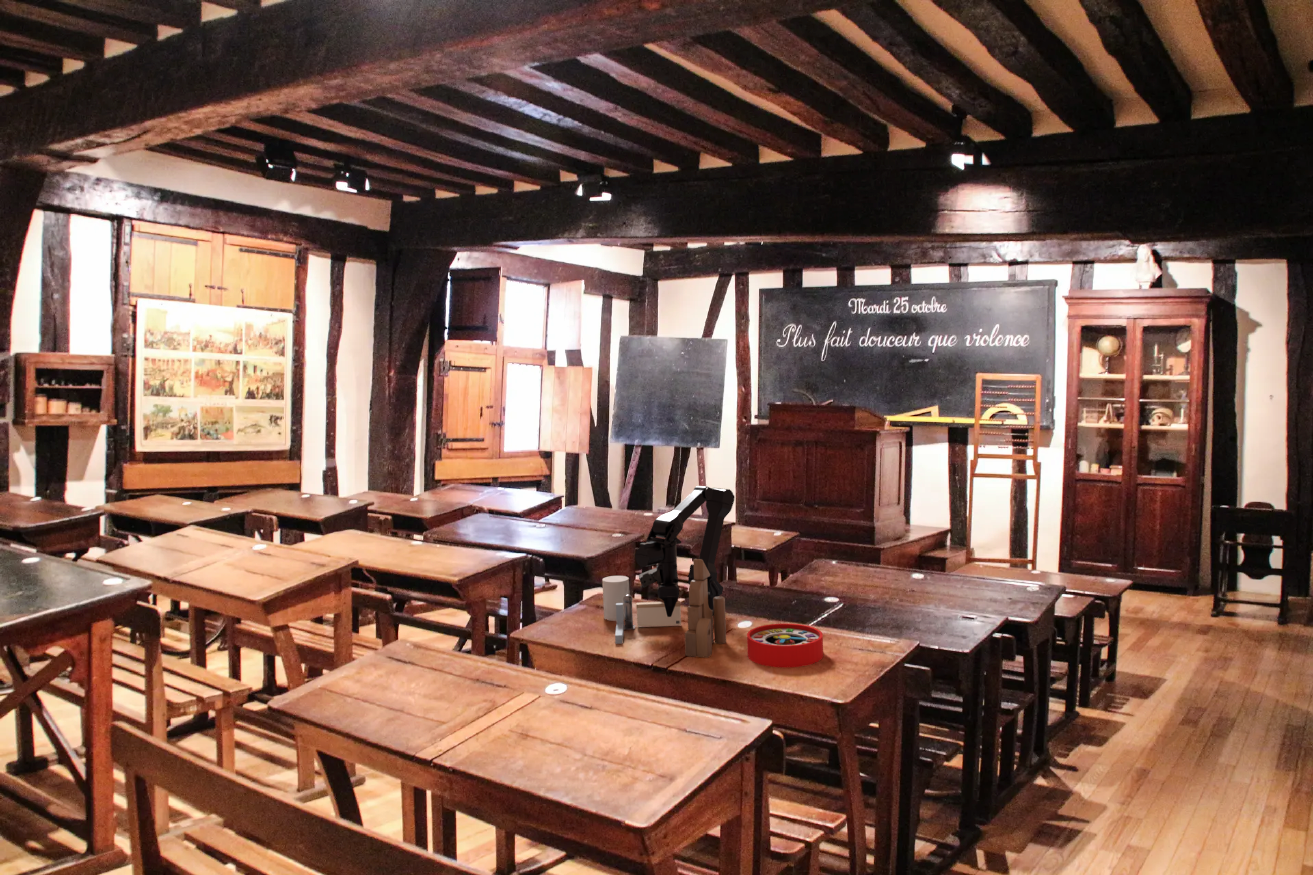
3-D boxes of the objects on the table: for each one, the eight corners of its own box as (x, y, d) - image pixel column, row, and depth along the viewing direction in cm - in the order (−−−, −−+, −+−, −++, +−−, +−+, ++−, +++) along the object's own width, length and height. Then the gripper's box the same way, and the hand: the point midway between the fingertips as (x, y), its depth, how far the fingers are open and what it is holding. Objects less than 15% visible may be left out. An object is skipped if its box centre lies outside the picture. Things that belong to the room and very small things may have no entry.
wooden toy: (708, 658, 260) (705, 565, 257) (685, 655, 262) (681, 564, 260) (727, 641, 274) (724, 553, 271) (705, 639, 276) (702, 552, 274)
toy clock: (756, 621, 272) (828, 625, 266) (757, 641, 273) (828, 646, 266) (738, 643, 253) (815, 648, 247) (739, 665, 254) (816, 670, 248)
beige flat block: (637, 627, 289) (636, 604, 288) (637, 624, 291) (636, 602, 290) (681, 625, 289) (680, 602, 288) (681, 623, 291) (680, 601, 290)
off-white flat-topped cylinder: (619, 611, 308) (618, 574, 307) (635, 616, 301) (634, 578, 300) (598, 617, 303) (597, 579, 301) (614, 622, 296) (613, 583, 295)
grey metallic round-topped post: (635, 625, 292) (633, 592, 291) (634, 629, 288) (633, 596, 287) (623, 626, 292) (621, 593, 291) (622, 629, 288) (621, 596, 287)
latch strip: (624, 629, 289) (623, 602, 288) (622, 643, 275) (621, 615, 274) (617, 629, 289) (616, 603, 288) (615, 643, 275) (614, 615, 274)
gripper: (640, 554, 297) (642, 604, 299) (639, 569, 279) (641, 622, 280) (676, 553, 297) (678, 603, 299) (678, 567, 279) (680, 620, 280)
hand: (669, 612), depth 290 cm, fingers open, 9 cm apart
